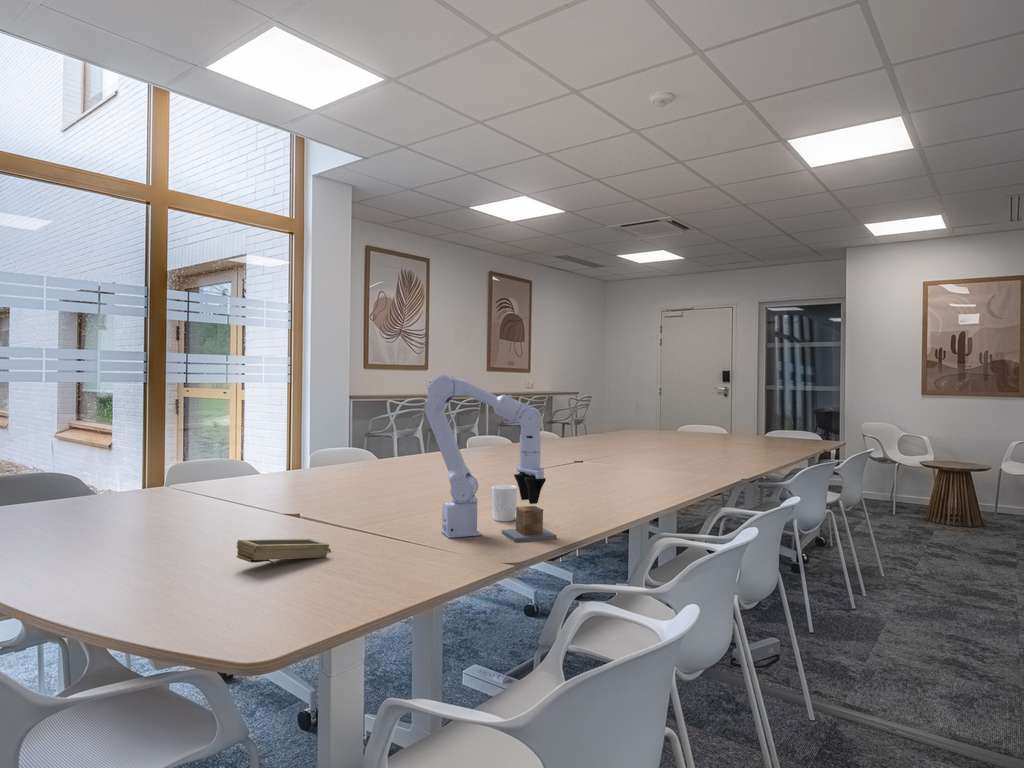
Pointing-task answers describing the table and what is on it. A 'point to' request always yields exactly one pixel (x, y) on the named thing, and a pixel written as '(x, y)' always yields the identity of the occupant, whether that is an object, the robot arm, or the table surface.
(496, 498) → the white cup
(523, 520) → the sliding lid crate
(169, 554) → the table surface
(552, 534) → the post base
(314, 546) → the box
